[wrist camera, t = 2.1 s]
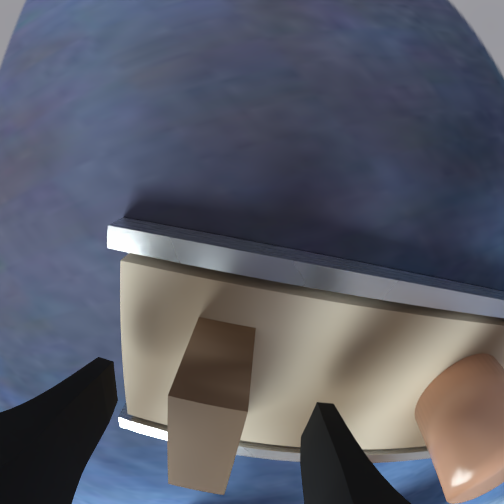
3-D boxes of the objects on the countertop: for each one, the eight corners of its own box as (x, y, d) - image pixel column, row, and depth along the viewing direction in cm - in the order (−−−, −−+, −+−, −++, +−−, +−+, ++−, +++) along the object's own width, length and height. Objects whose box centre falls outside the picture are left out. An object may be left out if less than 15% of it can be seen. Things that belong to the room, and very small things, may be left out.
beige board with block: (526, 319, 11) (580, 372, 7) (460, 430, 14) (488, 488, 9) (131, 251, 11) (56, 316, 7) (134, 400, 14) (98, 476, 9)
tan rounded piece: (514, 354, 11) (564, 416, 6) (467, 425, 13) (499, 490, 8) (445, 351, 11) (499, 435, 6) (397, 431, 13) (423, 512, 8)
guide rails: (519, 295, 11) (533, 305, 10) (432, 443, 14) (438, 456, 13) (122, 217, 11) (107, 225, 10) (127, 411, 14) (119, 426, 13)
